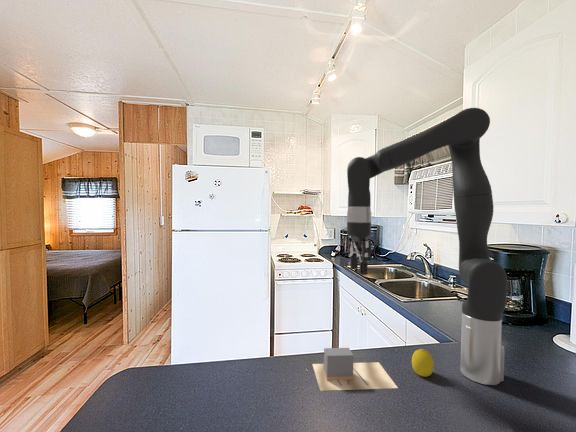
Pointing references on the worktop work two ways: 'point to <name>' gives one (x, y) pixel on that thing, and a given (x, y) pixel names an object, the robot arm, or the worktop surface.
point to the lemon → (422, 363)
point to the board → (356, 378)
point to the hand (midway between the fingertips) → (358, 271)
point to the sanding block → (338, 364)
